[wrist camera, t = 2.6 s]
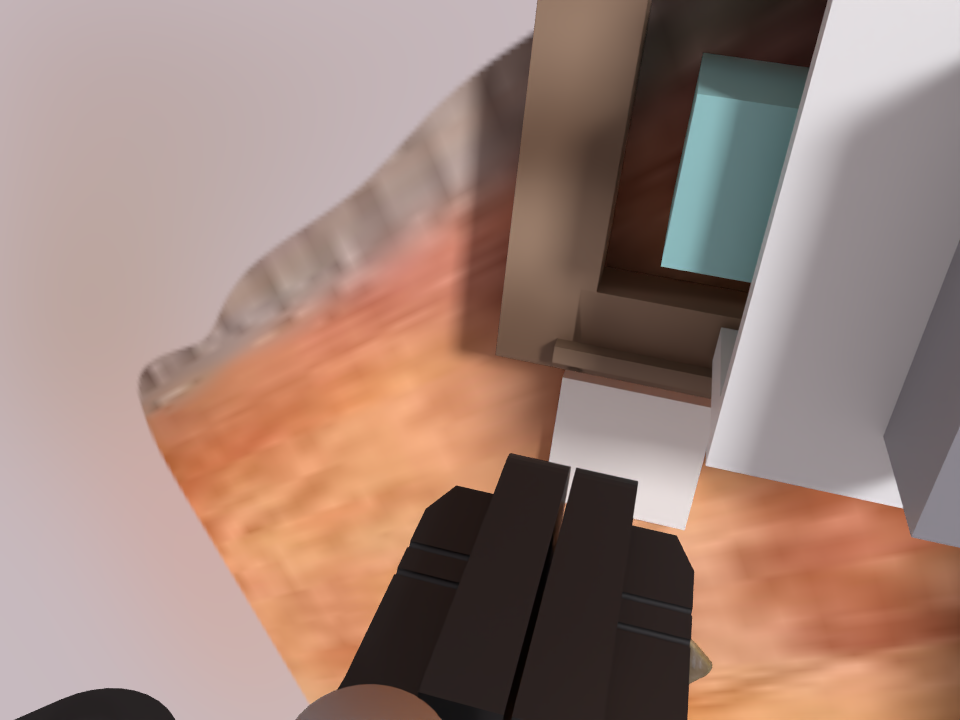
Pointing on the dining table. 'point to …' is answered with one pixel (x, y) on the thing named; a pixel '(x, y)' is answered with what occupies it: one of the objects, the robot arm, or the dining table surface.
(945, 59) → the cover
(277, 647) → the dining table surface
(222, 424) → the dining table surface
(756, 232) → the block
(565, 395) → the pad
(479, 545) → the robot arm
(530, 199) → the brown flat frame
